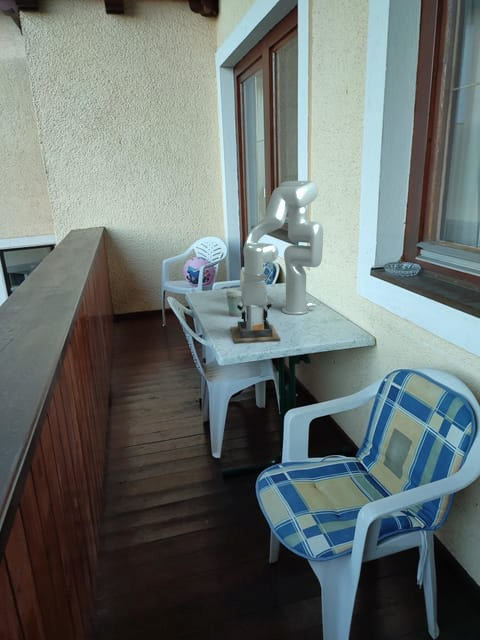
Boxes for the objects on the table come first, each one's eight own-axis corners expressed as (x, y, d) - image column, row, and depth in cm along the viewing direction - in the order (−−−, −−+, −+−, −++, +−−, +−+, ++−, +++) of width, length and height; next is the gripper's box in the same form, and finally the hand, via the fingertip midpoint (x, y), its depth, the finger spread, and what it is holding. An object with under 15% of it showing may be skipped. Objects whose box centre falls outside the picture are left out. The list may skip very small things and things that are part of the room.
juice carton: (256, 302, 228) (255, 266, 222) (255, 307, 220) (254, 269, 214) (241, 302, 229) (241, 266, 223) (240, 307, 220) (239, 269, 215)
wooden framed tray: (272, 326, 191) (272, 317, 189) (280, 341, 173) (280, 331, 172) (230, 328, 189) (230, 320, 188) (234, 343, 172) (234, 333, 171)
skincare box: (251, 334, 178) (250, 306, 174) (246, 332, 182) (245, 304, 178) (264, 332, 180) (264, 304, 177) (259, 329, 184) (258, 301, 180)
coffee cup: (242, 318, 203) (242, 292, 200) (224, 317, 205) (223, 292, 201) (246, 312, 211) (245, 288, 208) (228, 312, 213) (228, 287, 209)
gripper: (274, 274, 178) (274, 316, 184) (231, 276, 177) (232, 318, 182) (277, 278, 171) (277, 321, 177) (232, 280, 170) (234, 324, 175)
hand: (254, 319), depth 179 cm, fingers open, 7 cm apart
